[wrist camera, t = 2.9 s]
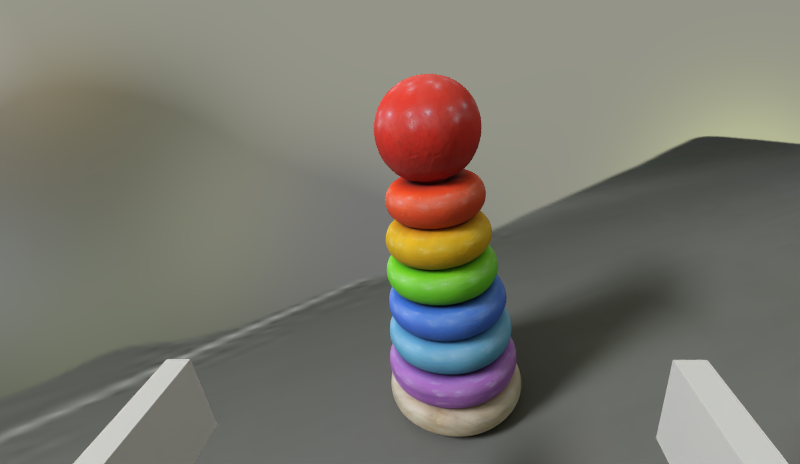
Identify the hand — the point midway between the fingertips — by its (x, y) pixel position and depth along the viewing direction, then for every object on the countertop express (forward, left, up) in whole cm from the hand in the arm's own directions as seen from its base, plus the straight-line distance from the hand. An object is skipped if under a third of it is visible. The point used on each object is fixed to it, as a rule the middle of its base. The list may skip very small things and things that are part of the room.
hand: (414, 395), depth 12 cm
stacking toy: (0, -11, -11) cm, 16 cm away
